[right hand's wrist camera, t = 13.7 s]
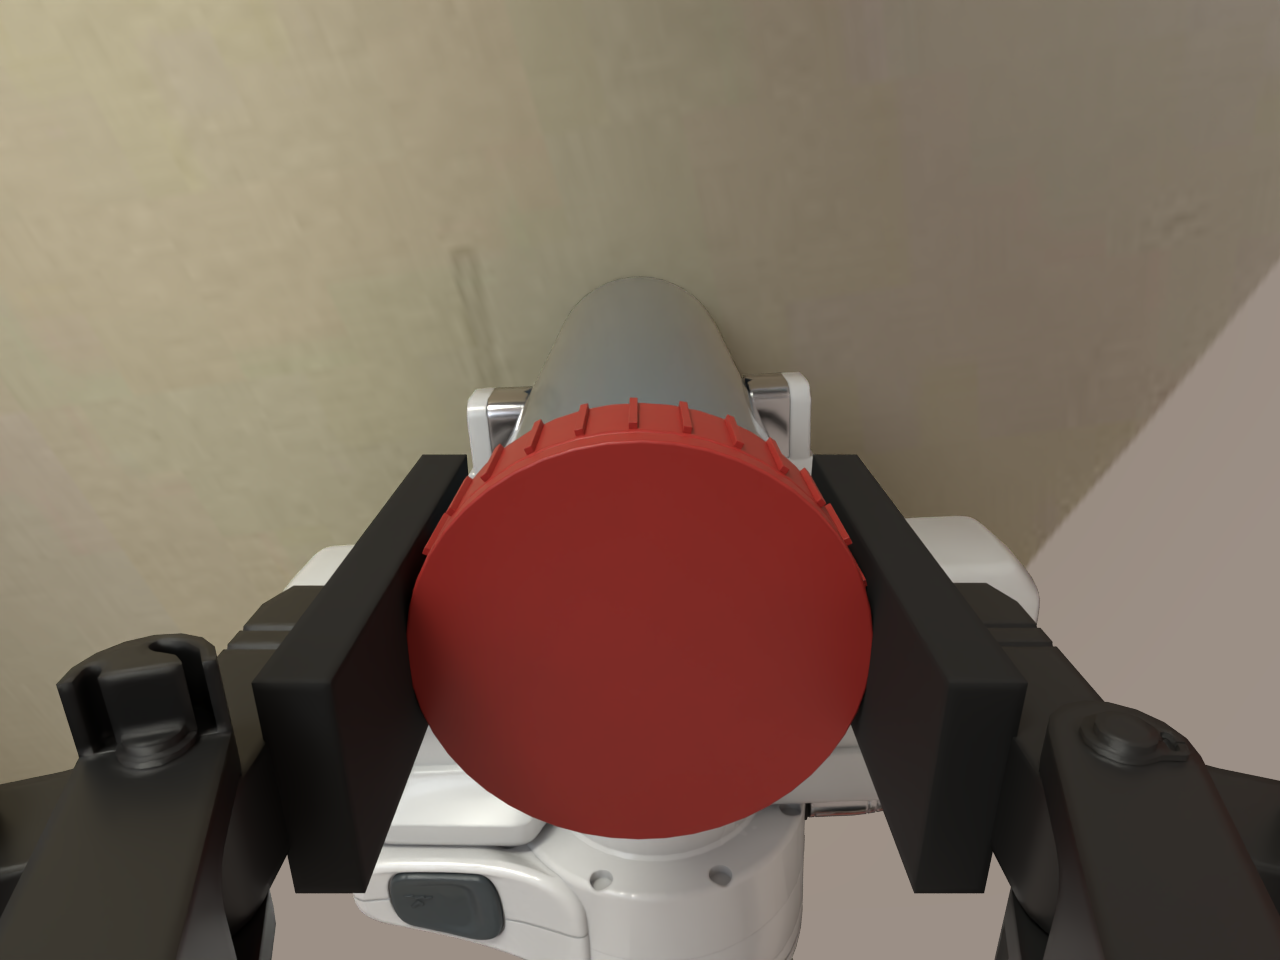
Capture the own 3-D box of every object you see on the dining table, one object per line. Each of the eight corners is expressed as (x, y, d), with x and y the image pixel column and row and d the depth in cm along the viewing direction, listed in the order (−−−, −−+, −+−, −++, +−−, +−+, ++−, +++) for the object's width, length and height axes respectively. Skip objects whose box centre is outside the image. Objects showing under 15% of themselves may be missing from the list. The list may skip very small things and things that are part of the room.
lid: (895, 427, 11) (936, 469, 9) (800, 783, 13) (822, 866, 12) (440, 367, 11) (406, 401, 9) (423, 742, 13) (393, 821, 11)
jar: (737, 289, 25) (889, 480, 10) (708, 452, 27) (797, 821, 12) (564, 264, 25) (444, 423, 10) (547, 431, 27) (426, 781, 12)
